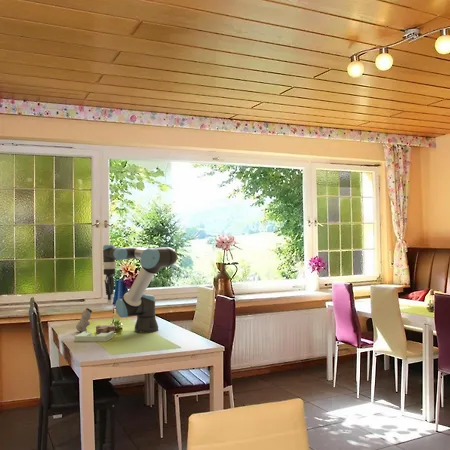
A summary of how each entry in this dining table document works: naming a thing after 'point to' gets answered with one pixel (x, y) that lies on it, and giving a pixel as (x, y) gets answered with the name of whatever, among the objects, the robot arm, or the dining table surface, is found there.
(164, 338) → the dining table surface
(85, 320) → the figurine
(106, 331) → the t block
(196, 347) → the dining table surface
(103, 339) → the slot frame
